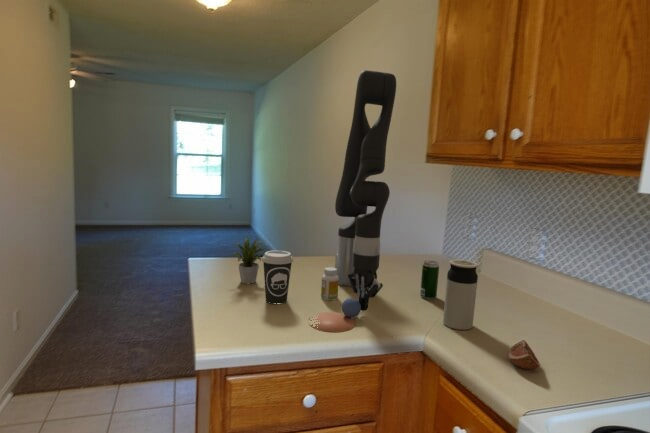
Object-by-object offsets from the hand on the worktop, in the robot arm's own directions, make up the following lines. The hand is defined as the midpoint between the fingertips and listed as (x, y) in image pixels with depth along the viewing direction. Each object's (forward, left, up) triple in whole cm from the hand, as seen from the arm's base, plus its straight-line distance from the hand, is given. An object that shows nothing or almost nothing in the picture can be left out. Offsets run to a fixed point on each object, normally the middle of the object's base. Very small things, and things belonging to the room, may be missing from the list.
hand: (362, 309), depth 122 cm
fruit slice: (+42, +12, -2) cm, 44 cm away
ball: (0, -4, +1) cm, 4 cm away
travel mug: (+19, +19, -2) cm, 27 cm away
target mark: (0, -11, -2) cm, 11 cm away
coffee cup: (-22, -16, -2) cm, 27 cm away
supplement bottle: (-16, 0, -2) cm, 16 cm away
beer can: (-1, +30, -2) cm, 30 cm away
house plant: (-42, -16, -2) cm, 45 cm away
